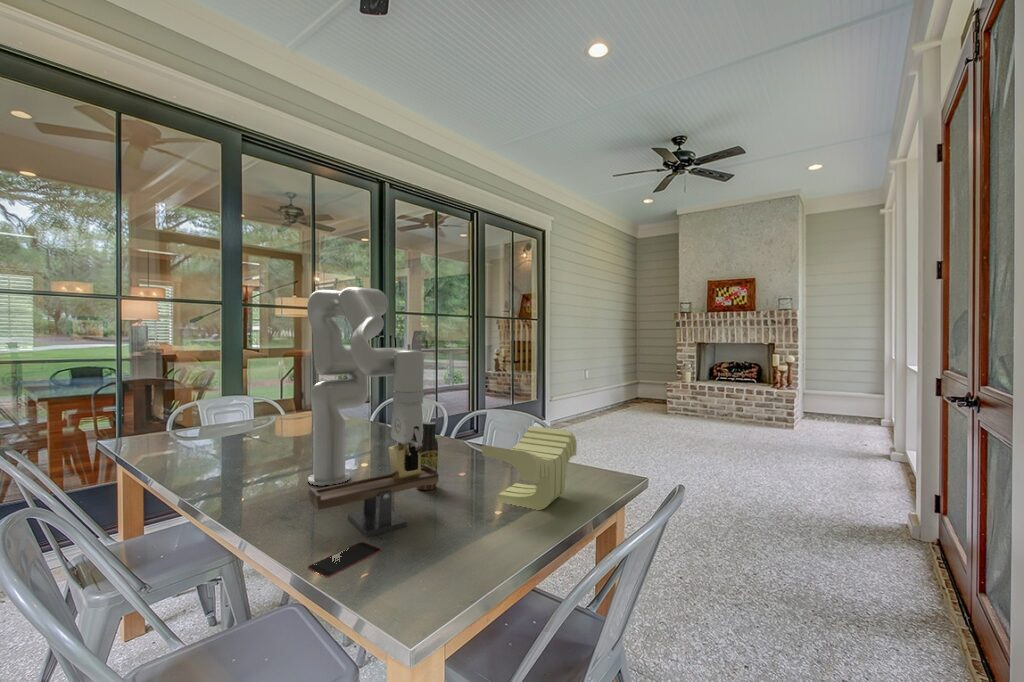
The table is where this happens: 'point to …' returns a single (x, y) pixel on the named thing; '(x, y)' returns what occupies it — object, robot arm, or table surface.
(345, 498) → the brown long channel
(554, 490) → the slatted curved stool
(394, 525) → the beam stand
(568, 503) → the table surface
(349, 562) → the smartphone
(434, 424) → the sauce bottle
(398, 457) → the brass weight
